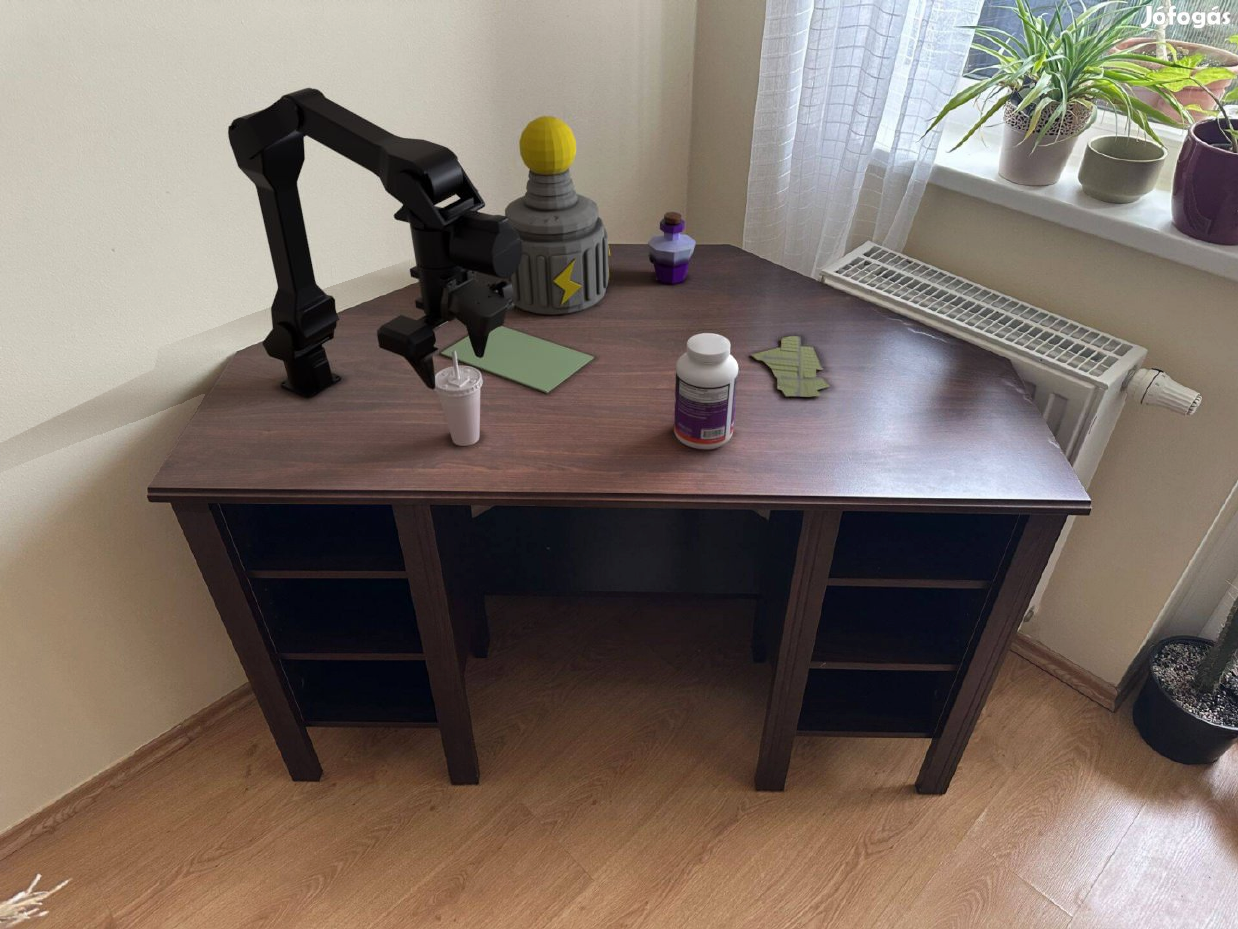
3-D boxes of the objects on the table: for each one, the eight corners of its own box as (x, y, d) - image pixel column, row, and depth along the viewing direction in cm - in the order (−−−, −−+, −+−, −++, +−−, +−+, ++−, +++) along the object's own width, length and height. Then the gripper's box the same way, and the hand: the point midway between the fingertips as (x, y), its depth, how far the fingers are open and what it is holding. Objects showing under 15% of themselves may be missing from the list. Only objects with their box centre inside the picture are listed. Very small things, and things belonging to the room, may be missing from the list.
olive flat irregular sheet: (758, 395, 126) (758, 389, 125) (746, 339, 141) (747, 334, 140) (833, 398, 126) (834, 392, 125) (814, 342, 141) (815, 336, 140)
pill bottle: (696, 412, 123) (700, 321, 115) (743, 432, 119) (752, 340, 111) (661, 438, 118) (664, 345, 110) (710, 460, 114) (716, 366, 106)
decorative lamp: (493, 278, 159) (475, 106, 141) (592, 264, 163) (587, 96, 145) (515, 325, 144) (498, 140, 126) (623, 308, 149) (621, 128, 131)
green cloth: (441, 354, 137) (440, 352, 137) (490, 323, 145) (490, 322, 145) (547, 393, 128) (546, 391, 128) (593, 358, 136) (593, 356, 136)
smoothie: (445, 455, 116) (430, 364, 107) (439, 428, 121) (425, 340, 112) (492, 447, 117) (481, 357, 109) (485, 421, 122) (474, 333, 114)
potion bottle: (645, 268, 161) (645, 205, 154) (691, 267, 162) (694, 204, 154) (649, 289, 155) (650, 224, 147) (697, 287, 155) (700, 222, 148)
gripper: (435, 306, 94) (453, 426, 103) (541, 247, 106) (549, 358, 115) (363, 282, 98) (386, 398, 108) (472, 227, 111) (485, 336, 120)
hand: (456, 372), depth 113 cm, fingers open, 9 cm apart
